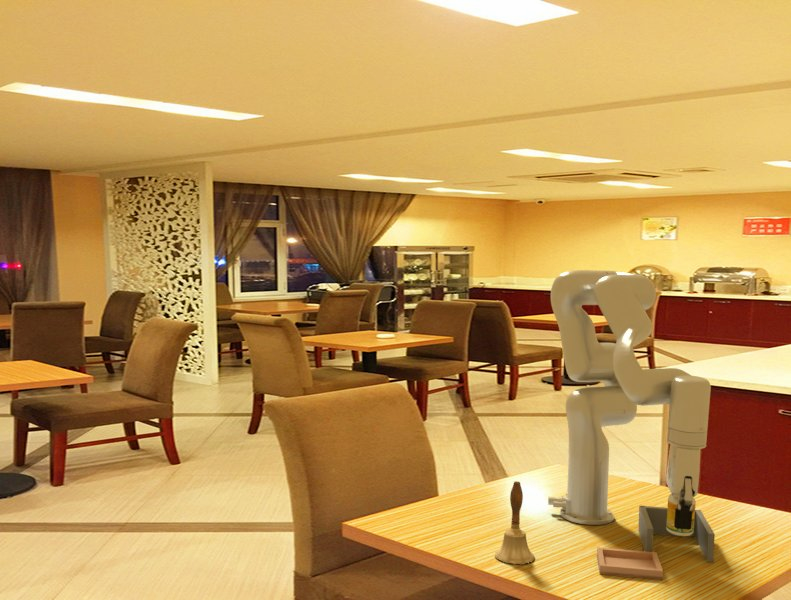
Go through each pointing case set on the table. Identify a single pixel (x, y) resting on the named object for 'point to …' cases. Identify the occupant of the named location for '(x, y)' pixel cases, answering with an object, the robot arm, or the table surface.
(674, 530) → the supplement bottle
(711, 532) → the bay
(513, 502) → the hand bell
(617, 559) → the tray
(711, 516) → the table surface
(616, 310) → the robot arm
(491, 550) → the table surface
